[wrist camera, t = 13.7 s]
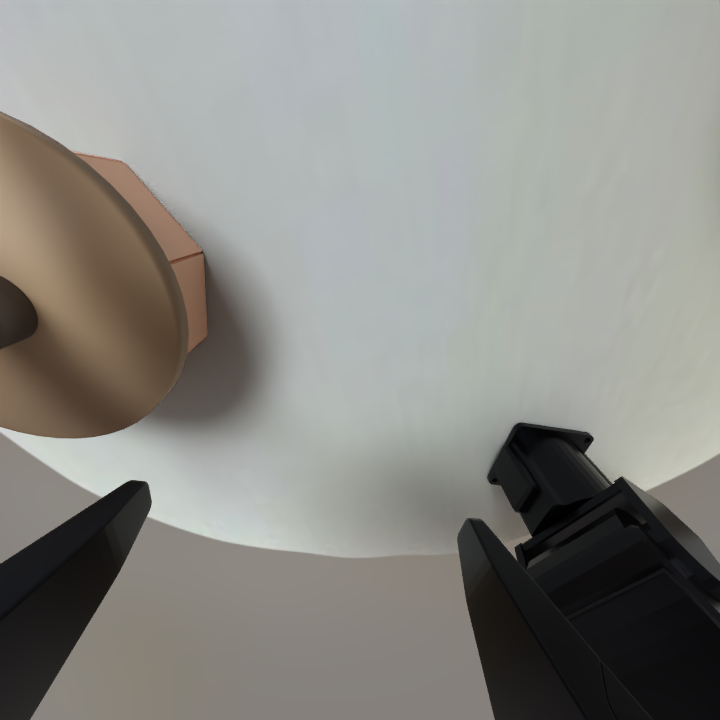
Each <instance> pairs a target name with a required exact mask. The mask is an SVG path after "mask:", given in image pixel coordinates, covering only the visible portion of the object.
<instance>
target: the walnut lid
mask: <svg viewBox="0 0 720 720" xmlns="http://www.w3.org/2000/svg"><path fill="white" fill-rule="evenodd" d="M188 341H189V328H188V318H187V311H186V307H185V303H184V299H183V294H182V292H181V289H180V286H179V284H178V281H177V278H176V275H175V273H174V271H173V269H172V267H171V265H170V263H169V261H168V259H167V257H166V255H165V253H164V251H163V249H162V248H161V246H160V245H159V243H158V242H157V240H156V238H155V237H154V235H153V234H152V232H151V231H150V229H149V228H148V226H147V225H146V224H145V223H144V221H143V220H142V219H141V218H140V216H139V215H138V214H137V212H136V211H135V210H134V209H133V207H132V206H131V205H130V204H129V203H128V202H127V201H126V200H125V199H124V198H123V196H122V195H121V194H120V193H119V192H118V191H117V190H116V189H115V188H114V187H113V186H112V185H111V184H110V183H109V182H108V181H107V180H106V179H105V178H103V177H102V176H101V175H100V174H99V173H98V172H97V171H95V170H94V169H93V168H92V167H91V166H90V165H89V164H88V163H86V162H85V161H84V160H82V159H81V158H80V157H78V156H77V155H76V154H74V153H73V152H71V151H70V150H69V149H67V148H66V147H65V146H63V145H62V144H60V143H59V142H57V141H56V140H54V139H52V138H51V137H49V136H47V135H46V134H44V133H42V132H41V131H39V130H37V129H36V128H34V127H32V126H31V125H28V124H26V123H24V122H22V121H20V120H18V119H16V118H13V117H11V116H9V115H7V114H5V113H3V112H0V427H3V428H6V429H10V430H14V431H17V432H22V433H27V434H32V435H37V436H44V437H53V438H88V437H96V436H101V435H106V434H110V433H113V432H116V431H119V430H122V429H125V428H127V427H129V426H131V425H133V424H135V423H137V422H138V421H139V420H141V419H142V418H144V417H145V416H146V415H148V414H149V413H150V412H151V411H152V410H153V409H154V408H155V407H156V406H157V405H158V404H159V403H160V402H161V401H162V400H163V399H164V398H165V396H166V395H167V394H168V393H169V392H170V391H171V390H172V389H173V387H174V385H175V384H176V382H177V381H178V379H179V377H180V375H181V373H182V370H183V368H184V365H185V361H186V357H187V352H188Z"/></svg>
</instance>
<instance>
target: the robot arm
mask: <svg viewBox="0 0 720 720" xmlns="http://www.w3.org/2000/svg"><path fill="white" fill-rule="evenodd" d="M520 429H522V430H520ZM593 440H594V438H593V437H592V436H591V435H590V434H589V433H587V432H581V431H575V430H568V429H561V428H554V427H548V426H541V425H534V424H527V423H518V424H516V425H515V426H514V428H513V430H512V431H511V433H510V435H509V437H508V439H507V441H506V443H505V445H504V446H503V448H502V450H501V452H500V454H499V456H498V458H497V459H496V461H495V463H494V465H493V467H492V469H491V471H490V473H489V474H488V477H487V478H488V480H489V483H491V484H494V485H501V486H502V488H503V490H504V492H505V494H506V496H507V498H508V500H509V502H510V504H511V506H512V507H513V509H514V511H515V512H518V513H520V515H521V517H522V519H523V521H524V522H525V524H526V526H527V528H528V530H529V532H530V534H531V536H532V538H531V539H529V540H528V541H526V542H524V543H523V544H522V543H520V544H519V545H517V546H516V547H515V552H516V556H517V560H518V561H517V560H516V559H515V558H514V557H513V555H512V554H511V553H510V552H509V551H508V550H507V548H506V547H505V546H504V545H503V544H502V543H501V541H500V540H499V539H498V538H497V537H496V535H495V534H494V533H493V532H492V531H491V530H490V528H489V527H488V526H487V525H486V524H485V523H484V522H483V521H482V520H481V519H476V518H468V519H466V521H465V522H464V524H463V526H462V528H461V530H460V532H459V534H458V539H457V540H458V549H459V556H460V562H461V569H462V576H463V582H464V589H465V595H466V601H467V606H468V610H469V615H470V619H471V623H472V627H473V631H474V635H475V640H476V643H477V648H478V652H479V656H480V660H481V664H482V669H483V673H484V677H485V681H486V685H487V689H488V693H489V697H490V702H491V706H492V710H493V714H494V718H495V720H720V564H719V562H718V561H717V560H716V559H715V557H714V556H713V555H712V553H711V552H710V551H709V549H708V548H707V547H706V545H705V544H704V543H703V541H702V540H701V539H700V538H699V537H698V536H697V535H696V534H695V533H694V532H693V531H692V530H691V529H690V528H689V527H688V526H686V525H685V524H684V523H683V522H682V521H681V520H680V519H679V518H678V517H677V516H676V515H674V513H672V512H671V511H670V510H669V509H668V508H667V507H666V506H665V505H664V504H662V503H661V502H660V501H658V500H657V499H655V498H654V497H652V496H651V495H649V494H648V493H646V492H645V491H643V490H642V489H640V488H639V487H637V486H636V485H634V484H633V483H631V482H630V481H628V480H627V479H625V478H624V477H622V476H621V477H620V478H618V479H617V480H615V481H614V482H615V483H614V484H612V483H611V482H610V481H609V480H608V478H607V477H606V476H605V475H604V474H603V473H602V472H601V471H600V470H599V469H598V467H597V466H596V465H595V464H594V463H593V462H592V461H591V460H590V459H589V458H588V457H587V455H586V454H585V452H586V450H587V449H588V447H589V446H590V445H591V443H592V442H593ZM151 504H152V500H151V495H150V490H149V485H148V483H147V482H145V481H136V480H131V481H128V482H126V483H125V484H123V485H121V486H120V487H118V488H117V489H115V490H114V491H112V492H111V493H109V494H108V495H106V496H104V497H103V498H101V499H100V500H98V501H97V502H95V503H94V504H92V505H91V506H89V507H88V508H86V509H84V510H83V511H81V512H80V513H78V514H77V515H75V516H74V517H72V518H70V519H69V520H67V521H66V522H64V523H63V524H61V525H60V526H58V527H57V528H55V529H53V530H52V531H50V532H49V533H47V534H46V535H44V536H43V537H41V538H40V539H38V540H36V541H35V542H34V543H32V544H31V545H29V546H27V547H26V548H24V549H23V550H21V551H20V552H18V553H16V554H15V555H13V556H12V557H10V558H9V559H7V560H6V561H4V562H3V563H1V564H0V720H30V719H31V717H32V716H33V714H34V712H35V710H36V709H37V707H38V706H39V704H40V702H41V700H42V699H43V697H44V696H45V694H46V692H47V691H48V689H49V687H50V686H51V684H52V683H53V681H54V679H55V677H56V676H57V674H58V673H59V671H60V669H61V668H62V666H63V664H64V663H65V661H66V660H67V658H68V656H69V655H70V653H71V651H72V650H73V648H74V646H75V645H76V643H77V641H78V640H79V638H80V636H81V635H82V633H83V632H84V630H85V628H86V627H87V625H88V623H89V621H90V620H91V618H92V617H93V615H94V613H95V612H96V610H97V608H98V607H99V605H100V604H101V602H102V600H103V599H104V597H105V595H106V594H107V592H108V590H109V589H110V587H111V585H112V584H113V582H114V580H115V579H116V577H117V575H118V573H119V572H120V570H121V567H122V566H123V564H124V562H125V560H126V558H127V556H128V554H129V552H130V550H131V548H132V545H133V544H134V541H135V540H136V537H137V535H138V533H139V531H140V529H141V527H142V525H143V523H144V521H145V519H146V517H147V515H148V513H149V511H150V508H151Z"/></svg>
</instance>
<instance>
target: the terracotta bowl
mask: <svg viewBox="0 0 720 720" xmlns="http://www.w3.org/2000/svg"><path fill="white" fill-rule="evenodd" d="M70 151H71V150H70ZM71 152H73V153H74V154H76V155H77V156H78V157H80V158H81V159H82V160H84V161H85V162H86V163H88V164H89V165H90V166H91V167H92V168H93V169H94V170H95V171H97V172H98V173H99V174H100V175H101V176H102V177H103V178H105V179H106V180H107V181H108V182H109V183H110V184H111V185H112V186H113V187H114V188H115V189H116V190H117V191H118V192H119V193H120V194H121V195H122V196H123V198H124V199H125V200H126V201H127V202H128V203H129V204H130V205H131V206H132V207H133V209H134V210H135V211H136V212H137V214H138V215H139V216H140V218H141V219H142V220H143V221H144V223H145V224H146V225H147V226H148V228H149V229H150V231H151V232H152V234H153V235H154V237H155V238H156V240H157V242H158V243H159V245H160V246H161V248H162V249H163V251H164V253H165V255H166V257H167V259H168V261H169V263H170V265H171V267H172V269H173V271H174V273H175V275H176V278H177V281H178V284H179V286H180V289H181V292H182V294H183V299H184V303H185V307H186V311H187V318H188V328H189V341H188V352H187V354H188V353H189V352H190V351H191V350H192V349H194V348H195V347H196V346H197V345H198V344H199V343H200V342H201V341H203V340H204V339H205V338H206V337H207V335H208V330H207V310H206V289H205V269H204V254H203V253H200V252H202V250H201V248H200V247H199V246H198V245H197V244H196V243H195V242H194V241H193V239H192V238H191V237H190V236H189V235H188V234H187V233H186V231H185V230H184V229H183V228H182V227H181V226H180V225H179V224H178V222H177V221H176V220H175V219H174V218H173V217H172V216H171V215H170V213H169V212H168V211H167V210H166V209H165V208H164V207H163V205H162V204H161V203H160V202H159V201H158V200H157V199H156V198H155V196H154V195H153V194H152V193H151V192H150V191H149V190H148V188H147V187H146V186H145V185H144V184H143V183H142V182H141V181H140V179H139V178H138V177H137V176H136V175H135V174H134V173H133V171H132V170H131V169H130V168H129V167H128V166H127V165H126V164H125V163H122V161H119V160H114V159H110V158H105V157H100V156H95V155H90V154H85V153H81V152H76V151H71Z"/></svg>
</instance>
